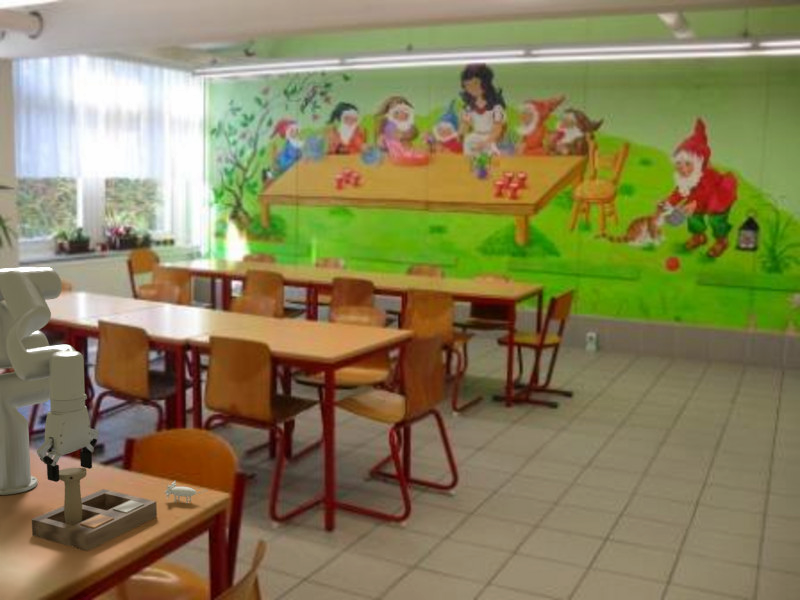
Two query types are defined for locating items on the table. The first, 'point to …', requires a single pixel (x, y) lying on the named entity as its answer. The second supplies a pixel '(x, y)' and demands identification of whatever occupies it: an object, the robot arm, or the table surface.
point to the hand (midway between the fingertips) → (70, 473)
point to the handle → (72, 494)
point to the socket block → (96, 519)
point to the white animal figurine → (180, 491)
